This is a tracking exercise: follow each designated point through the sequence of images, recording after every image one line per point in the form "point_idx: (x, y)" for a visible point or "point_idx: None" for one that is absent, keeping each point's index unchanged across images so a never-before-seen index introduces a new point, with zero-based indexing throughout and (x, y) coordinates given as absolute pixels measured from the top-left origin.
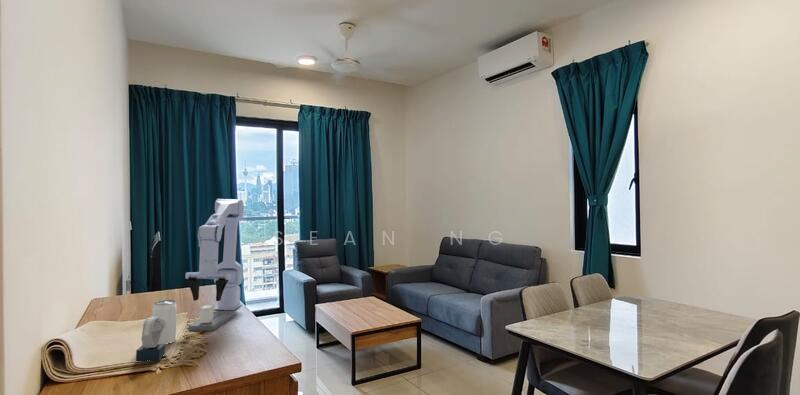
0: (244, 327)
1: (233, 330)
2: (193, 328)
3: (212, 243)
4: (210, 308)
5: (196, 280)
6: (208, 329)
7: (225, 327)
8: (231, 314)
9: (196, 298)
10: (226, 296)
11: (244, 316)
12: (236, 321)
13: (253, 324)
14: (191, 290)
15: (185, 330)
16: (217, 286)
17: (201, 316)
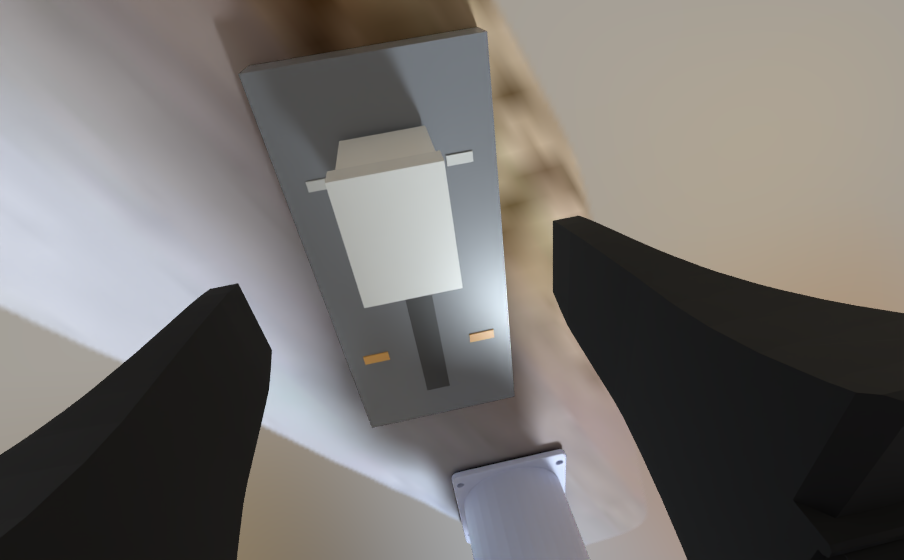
0: (72, 234)
1: (76, 132)
2: (433, 36)
3: None
4: (339, 224)
5: (780, 535)
6: (289, 62)
7: (227, 192)
8: (359, 392)
9: (561, 257)
10: (517, 545)
11: (309, 423)
12: (273, 335)
13: (83, 316)
14: (705, 271)
15: (501, 17)
16: (22, 489)
17: (418, 147)
